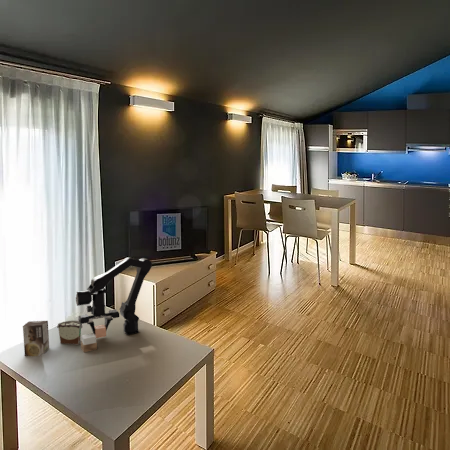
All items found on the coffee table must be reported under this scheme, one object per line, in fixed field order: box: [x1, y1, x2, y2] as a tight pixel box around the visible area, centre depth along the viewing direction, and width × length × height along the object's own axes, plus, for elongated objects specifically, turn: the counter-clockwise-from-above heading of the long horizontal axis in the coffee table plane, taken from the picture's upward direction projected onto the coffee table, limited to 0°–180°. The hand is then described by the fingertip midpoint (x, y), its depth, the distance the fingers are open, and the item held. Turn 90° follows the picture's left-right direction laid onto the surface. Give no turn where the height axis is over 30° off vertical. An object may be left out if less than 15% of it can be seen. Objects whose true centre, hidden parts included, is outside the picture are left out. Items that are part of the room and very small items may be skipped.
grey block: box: [80, 332, 97, 345], centre depth 176 cm, size 6×6×3 cm
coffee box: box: [22, 320, 50, 357], centre depth 174 cm, size 9×6×16 cm
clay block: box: [94, 324, 107, 339], centre depth 187 cm, size 5×5×4 cm
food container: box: [57, 320, 83, 346], centre depth 185 cm, size 12×6×10 cm, turn 83°
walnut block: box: [80, 340, 98, 353], centre depth 177 cm, size 6×6×4 cm
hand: (99, 333), depth 187 cm, fingers closed on clay block, 5 cm apart
